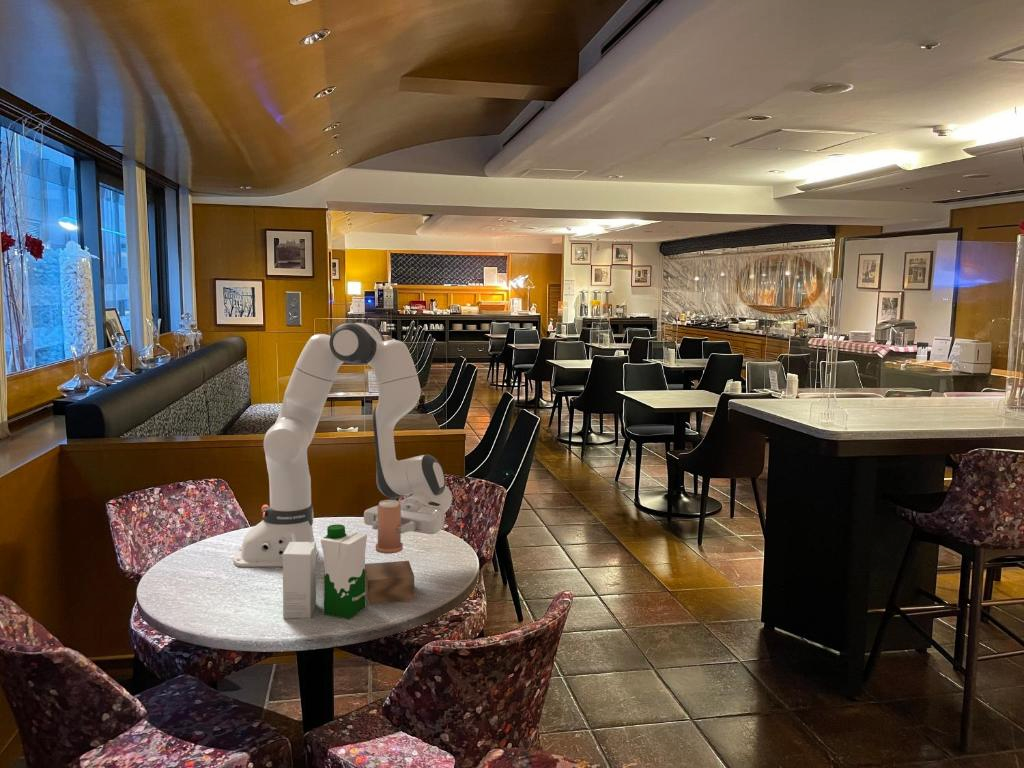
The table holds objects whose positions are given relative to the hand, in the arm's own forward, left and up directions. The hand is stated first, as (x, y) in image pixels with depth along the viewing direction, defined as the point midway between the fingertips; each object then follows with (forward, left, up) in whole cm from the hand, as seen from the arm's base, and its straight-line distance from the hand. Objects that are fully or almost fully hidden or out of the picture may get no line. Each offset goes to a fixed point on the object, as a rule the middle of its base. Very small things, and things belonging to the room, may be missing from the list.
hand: (387, 528), depth 182 cm
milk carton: (-11, -7, -17) cm, 21 cm away
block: (0, +1, -17) cm, 17 cm away
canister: (+1, +1, -5) cm, 6 cm away
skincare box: (-21, -5, -17) cm, 27 cm away
